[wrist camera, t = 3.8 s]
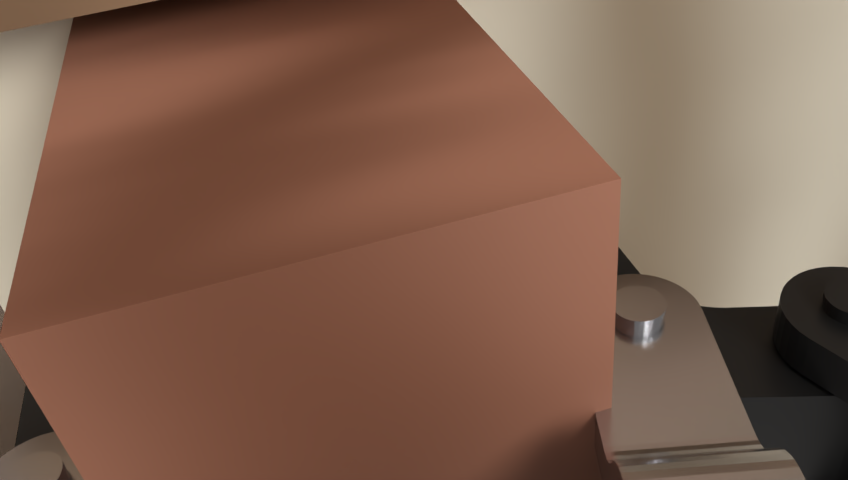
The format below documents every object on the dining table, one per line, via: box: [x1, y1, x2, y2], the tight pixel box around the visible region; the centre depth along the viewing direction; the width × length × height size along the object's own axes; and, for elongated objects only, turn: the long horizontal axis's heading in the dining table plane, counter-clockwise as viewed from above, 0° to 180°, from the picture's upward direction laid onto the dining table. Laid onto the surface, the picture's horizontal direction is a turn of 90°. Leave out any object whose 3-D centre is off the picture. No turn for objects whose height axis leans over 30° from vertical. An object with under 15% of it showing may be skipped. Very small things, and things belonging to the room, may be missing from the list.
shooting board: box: [0, 0, 848, 312], centre depth 13 cm, size 21×11×5 cm, turn 97°
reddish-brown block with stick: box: [0, 0, 621, 480], centre depth 11 cm, size 4×12×6 cm, turn 7°
